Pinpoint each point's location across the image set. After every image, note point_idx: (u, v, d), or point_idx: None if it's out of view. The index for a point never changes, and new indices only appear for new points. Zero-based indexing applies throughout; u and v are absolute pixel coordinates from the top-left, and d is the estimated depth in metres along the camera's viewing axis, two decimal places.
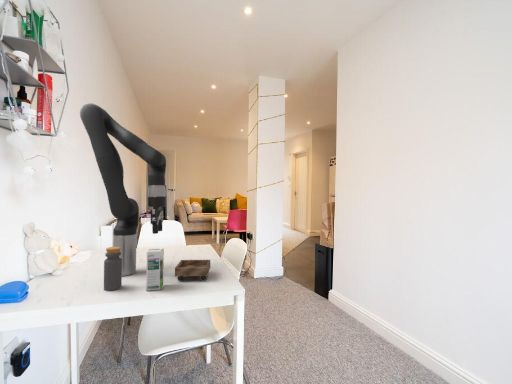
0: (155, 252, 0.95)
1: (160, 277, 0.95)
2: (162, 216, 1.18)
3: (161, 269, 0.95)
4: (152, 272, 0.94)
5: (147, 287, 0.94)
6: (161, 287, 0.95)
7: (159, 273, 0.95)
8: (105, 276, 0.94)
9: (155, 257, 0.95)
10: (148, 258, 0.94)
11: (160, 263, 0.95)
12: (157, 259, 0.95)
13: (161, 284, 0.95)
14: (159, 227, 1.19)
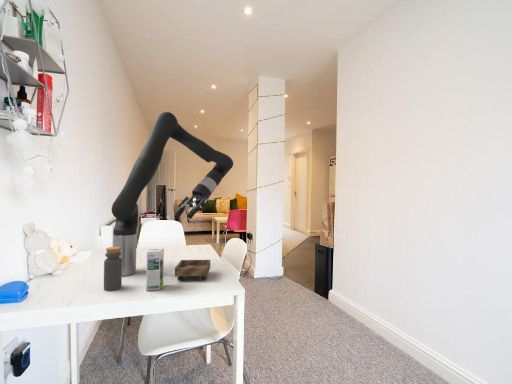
0: (155, 252, 0.95)
1: (160, 277, 0.95)
2: None
3: (161, 269, 0.95)
4: (152, 272, 0.94)
5: (147, 287, 0.94)
6: (161, 287, 0.95)
7: (159, 273, 0.95)
8: (105, 276, 0.94)
9: (155, 257, 0.95)
10: (148, 258, 0.94)
11: (160, 263, 0.95)
12: (157, 259, 0.95)
13: (161, 284, 0.95)
14: (179, 213, 1.10)
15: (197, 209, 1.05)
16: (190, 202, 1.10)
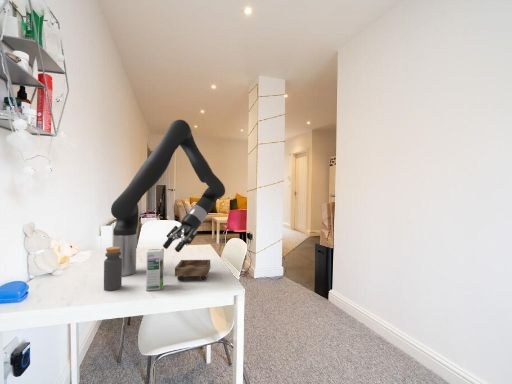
0: (155, 252, 0.95)
1: (160, 277, 0.95)
2: None
3: (161, 269, 0.95)
4: (152, 272, 0.94)
5: (147, 287, 0.94)
6: (161, 287, 0.95)
7: (159, 273, 0.95)
8: (105, 276, 0.94)
9: (155, 257, 0.95)
10: (148, 258, 0.94)
11: (160, 263, 0.95)
12: (157, 259, 0.95)
13: (161, 284, 0.95)
14: (167, 244, 1.06)
15: (185, 242, 1.01)
16: (179, 233, 1.06)
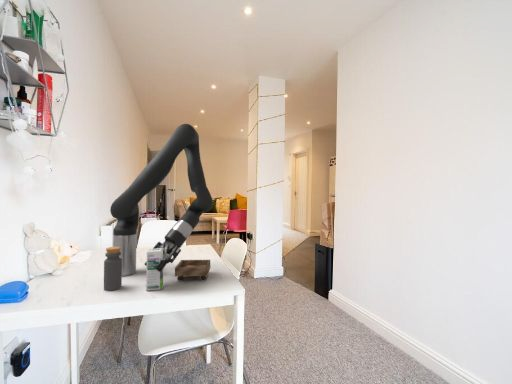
0: (155, 252, 0.95)
1: (160, 277, 0.95)
2: None
3: None
4: (152, 272, 0.94)
5: (147, 287, 0.94)
6: (161, 287, 0.95)
7: (159, 273, 0.95)
8: (105, 276, 0.94)
9: (155, 257, 0.95)
10: (148, 258, 0.94)
11: None
12: (157, 259, 0.95)
13: (161, 284, 0.95)
14: None
15: (167, 261, 0.95)
16: None
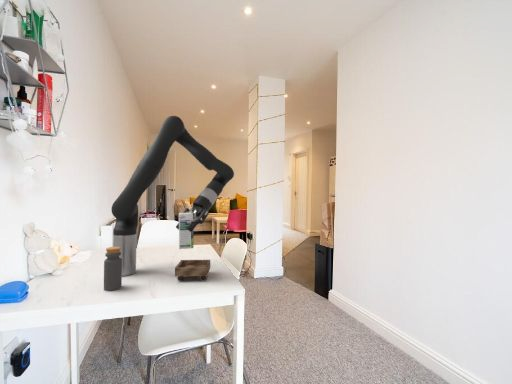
0: (186, 214, 1.05)
1: (191, 237, 1.05)
2: None
3: None
4: (184, 232, 1.04)
5: (180, 246, 1.04)
6: (192, 246, 1.05)
7: (190, 233, 1.05)
8: (105, 276, 0.94)
9: (186, 219, 1.04)
10: (180, 219, 1.04)
11: None
12: (188, 220, 1.05)
13: (192, 243, 1.05)
14: None
15: (197, 222, 1.04)
16: None
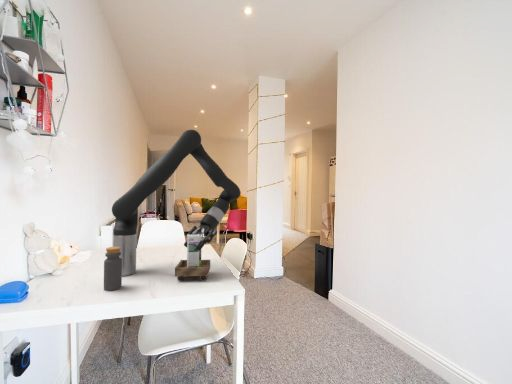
0: (195, 236, 1.08)
1: (199, 258, 1.09)
2: None
3: (200, 251, 1.09)
4: (192, 254, 1.08)
5: (188, 267, 1.07)
6: None
7: (198, 255, 1.08)
8: (105, 276, 0.94)
9: (195, 241, 1.08)
10: (189, 242, 1.07)
11: None
12: (197, 242, 1.08)
13: (200, 265, 1.09)
14: None
15: (206, 241, 1.08)
16: (198, 232, 1.13)
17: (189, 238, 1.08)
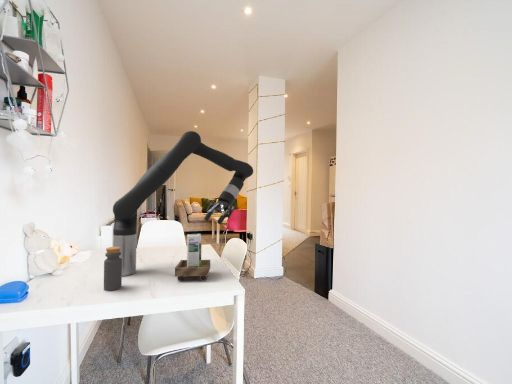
0: (195, 236, 1.08)
1: (199, 258, 1.09)
2: (217, 211, 1.26)
3: (200, 251, 1.09)
4: (192, 254, 1.08)
5: (188, 267, 1.07)
6: None
7: (198, 255, 1.08)
8: (105, 276, 0.94)
9: (195, 241, 1.08)
10: (189, 242, 1.08)
11: (199, 246, 1.09)
12: (197, 242, 1.08)
13: (200, 265, 1.09)
14: (207, 217, 1.24)
15: (226, 216, 1.19)
16: (217, 208, 1.24)
17: (189, 238, 1.08)
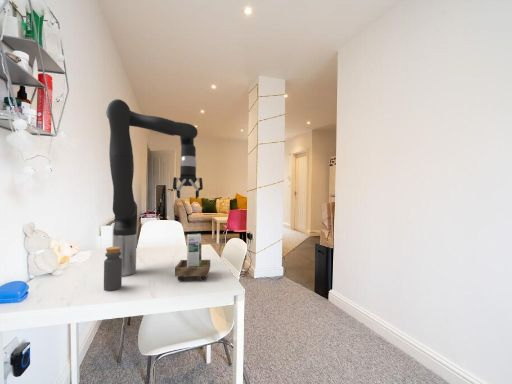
0: (195, 236, 1.08)
1: (199, 258, 1.09)
2: None
3: (200, 251, 1.09)
4: (192, 254, 1.08)
5: (188, 267, 1.07)
6: None
7: (198, 255, 1.08)
8: (105, 276, 0.94)
9: (195, 241, 1.08)
10: (189, 242, 1.08)
11: (199, 246, 1.09)
12: (197, 242, 1.08)
13: (200, 265, 1.09)
14: (179, 194, 1.28)
15: None
16: (186, 184, 1.27)
17: (189, 238, 1.08)
